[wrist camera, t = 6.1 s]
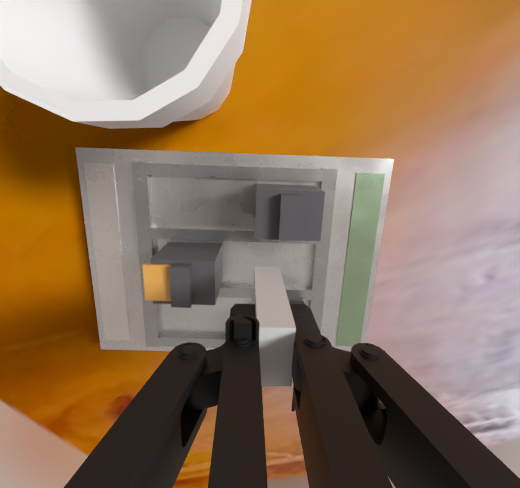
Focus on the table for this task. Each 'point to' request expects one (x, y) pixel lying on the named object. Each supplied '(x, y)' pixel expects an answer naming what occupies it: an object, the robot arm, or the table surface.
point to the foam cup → (122, 57)
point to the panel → (227, 239)
